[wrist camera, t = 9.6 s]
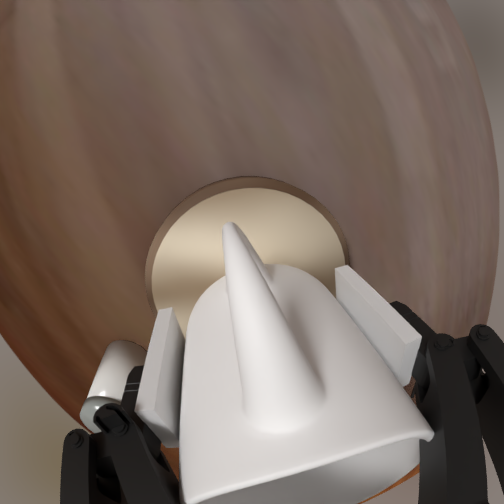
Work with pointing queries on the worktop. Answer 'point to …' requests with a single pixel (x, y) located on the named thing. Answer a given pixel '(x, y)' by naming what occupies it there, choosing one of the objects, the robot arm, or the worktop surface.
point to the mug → (286, 394)
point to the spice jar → (111, 378)
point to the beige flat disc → (256, 230)
